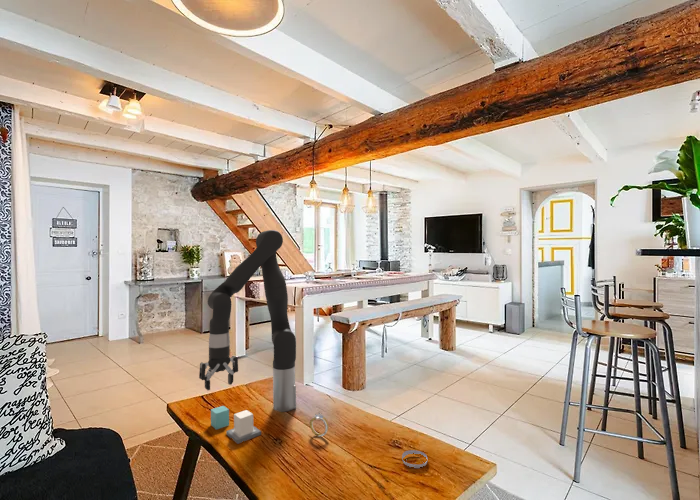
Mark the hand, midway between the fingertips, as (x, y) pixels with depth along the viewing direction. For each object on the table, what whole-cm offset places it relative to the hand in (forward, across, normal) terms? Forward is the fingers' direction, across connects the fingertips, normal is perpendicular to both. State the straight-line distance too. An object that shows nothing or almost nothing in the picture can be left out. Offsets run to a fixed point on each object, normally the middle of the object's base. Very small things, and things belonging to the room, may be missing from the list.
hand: (219, 386), depth 138 cm
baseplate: (+14, -4, +13) cm, 20 cm away
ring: (+14, -22, +33) cm, 43 cm away
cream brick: (+13, -4, +13) cm, 19 cm away
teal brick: (+15, 0, 0) cm, 15 cm away
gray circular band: (+14, -34, +66) cm, 76 cm away
